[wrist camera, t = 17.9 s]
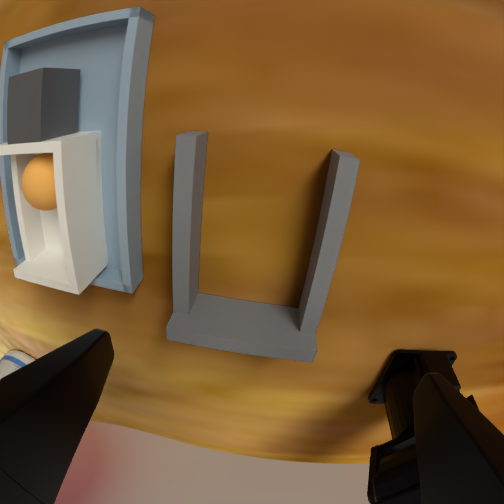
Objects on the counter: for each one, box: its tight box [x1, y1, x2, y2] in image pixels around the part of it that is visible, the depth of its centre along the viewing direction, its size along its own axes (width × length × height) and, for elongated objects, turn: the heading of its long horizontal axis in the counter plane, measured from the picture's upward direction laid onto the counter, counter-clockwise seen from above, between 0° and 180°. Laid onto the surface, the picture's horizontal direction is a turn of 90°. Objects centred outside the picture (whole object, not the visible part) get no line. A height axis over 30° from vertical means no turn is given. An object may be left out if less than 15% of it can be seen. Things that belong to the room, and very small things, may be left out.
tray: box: [0, 7, 155, 294], centre depth 16 cm, size 17×11×2 cm, turn 173°
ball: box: [21, 153, 57, 211], centre depth 15 cm, size 4×4×4 cm
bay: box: [166, 131, 360, 362], centre depth 17 cm, size 12×9×4 cm
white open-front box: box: [0, 68, 109, 295], centre depth 15 cm, size 13×6×4 cm, turn 174°
